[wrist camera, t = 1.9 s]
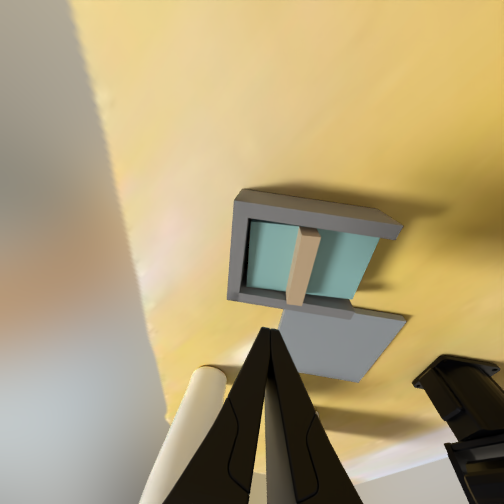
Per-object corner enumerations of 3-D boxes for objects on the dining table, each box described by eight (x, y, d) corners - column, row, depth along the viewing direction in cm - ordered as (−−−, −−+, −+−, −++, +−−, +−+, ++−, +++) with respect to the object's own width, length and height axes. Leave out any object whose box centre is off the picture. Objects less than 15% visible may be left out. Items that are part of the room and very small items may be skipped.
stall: (377, 208, 15) (403, 225, 12) (338, 292, 19) (350, 320, 16) (242, 188, 15) (234, 200, 12) (234, 275, 19) (226, 299, 16)
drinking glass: (233, 365, 28) (197, 563, 15) (231, 388, 31) (200, 565, 18) (187, 358, 28) (112, 545, 15) (190, 381, 31) (130, 551, 18)
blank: (363, 219, 16) (393, 244, 12) (341, 277, 19) (359, 313, 15) (254, 208, 16) (248, 229, 12) (250, 267, 19) (243, 298, 15)
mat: (402, 315, 20) (406, 321, 19) (356, 376, 26) (358, 382, 25) (287, 296, 20) (287, 302, 19) (268, 361, 26) (268, 367, 25)
